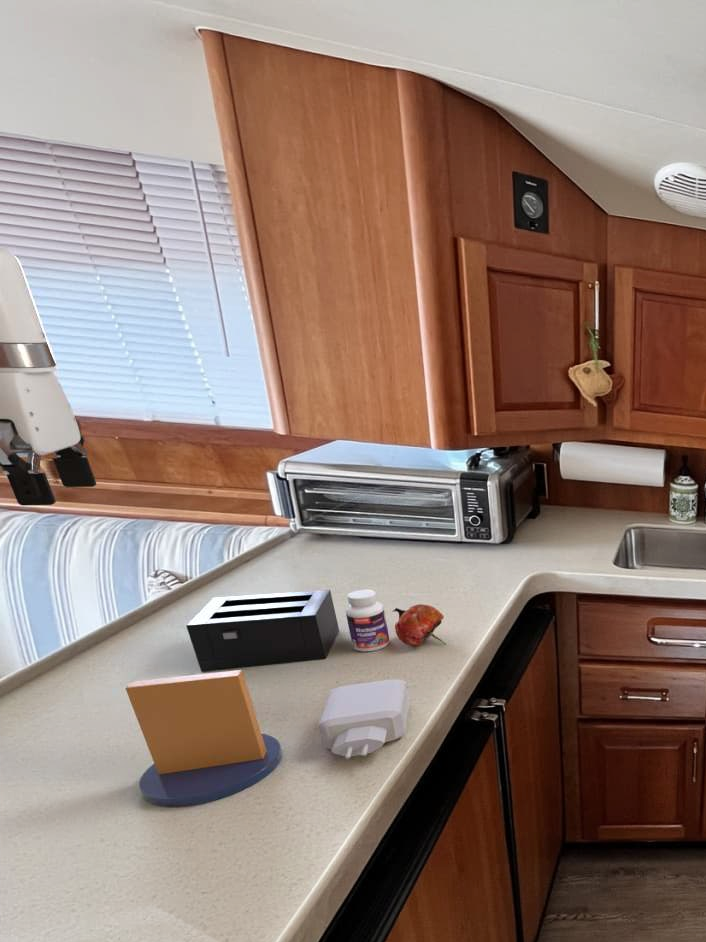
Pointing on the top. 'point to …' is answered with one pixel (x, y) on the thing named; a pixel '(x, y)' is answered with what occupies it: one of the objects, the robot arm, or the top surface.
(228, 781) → the plate
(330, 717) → the charger
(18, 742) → the top surface
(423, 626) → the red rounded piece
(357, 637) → the pill bottle
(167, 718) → the toast
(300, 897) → the top surface
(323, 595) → the toaster
